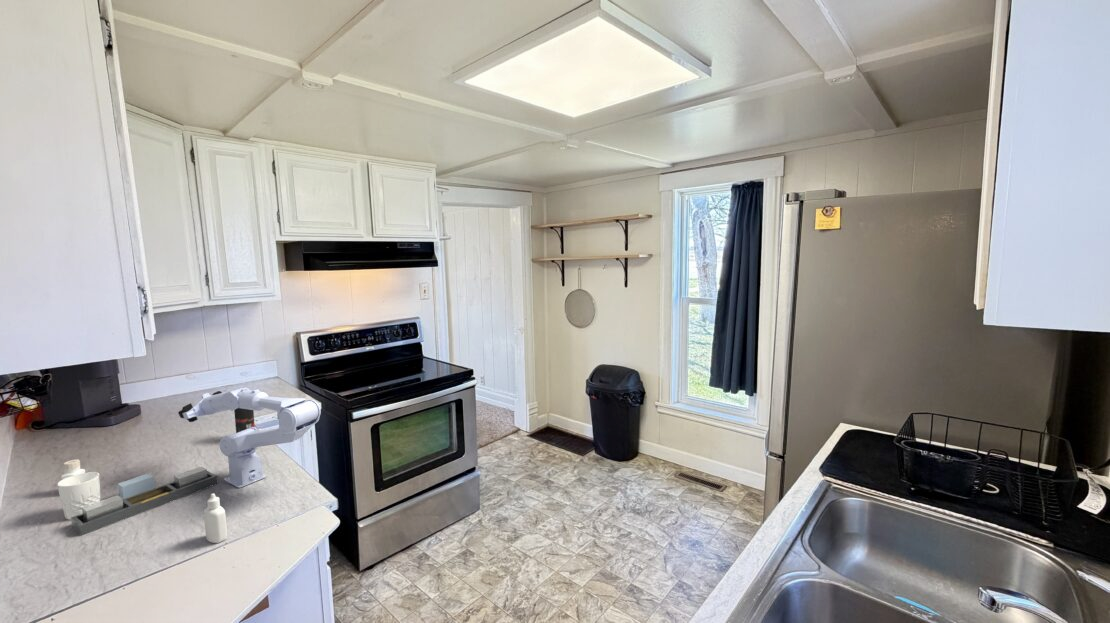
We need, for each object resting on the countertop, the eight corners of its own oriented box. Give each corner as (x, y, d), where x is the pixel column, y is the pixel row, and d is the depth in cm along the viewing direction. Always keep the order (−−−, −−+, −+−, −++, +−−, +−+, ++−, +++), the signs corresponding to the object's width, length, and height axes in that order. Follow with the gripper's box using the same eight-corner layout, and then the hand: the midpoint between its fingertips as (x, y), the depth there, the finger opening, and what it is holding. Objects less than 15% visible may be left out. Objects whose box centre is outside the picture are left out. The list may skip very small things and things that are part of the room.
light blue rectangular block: (154, 490, 136) (153, 476, 135) (124, 501, 130) (122, 486, 129) (150, 487, 137) (148, 473, 137) (119, 497, 131) (117, 483, 131)
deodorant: (246, 445, 167) (243, 406, 165) (233, 443, 169) (229, 405, 167) (259, 439, 173) (256, 401, 171) (246, 437, 174) (243, 400, 172)
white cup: (101, 501, 129) (97, 469, 128) (105, 511, 124) (100, 478, 123) (61, 513, 123) (56, 479, 122) (63, 524, 118) (58, 489, 117)
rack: (217, 483, 140) (216, 468, 139) (81, 535, 114) (78, 516, 113) (206, 477, 143) (205, 462, 143) (72, 526, 117) (69, 508, 117)
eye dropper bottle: (227, 529, 117) (223, 486, 115) (227, 540, 112) (223, 496, 111) (206, 535, 114) (202, 492, 113) (205, 547, 110) (201, 502, 108)
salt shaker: (71, 489, 135) (67, 459, 134) (88, 487, 137) (84, 457, 136) (62, 496, 132) (58, 465, 130) (80, 493, 133) (76, 463, 132)
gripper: (235, 382, 148) (209, 388, 153) (190, 401, 135) (163, 408, 140) (244, 401, 150) (218, 407, 154) (200, 422, 136) (173, 428, 141)
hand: (192, 409), depth 147 cm, fingers open, 7 cm apart
